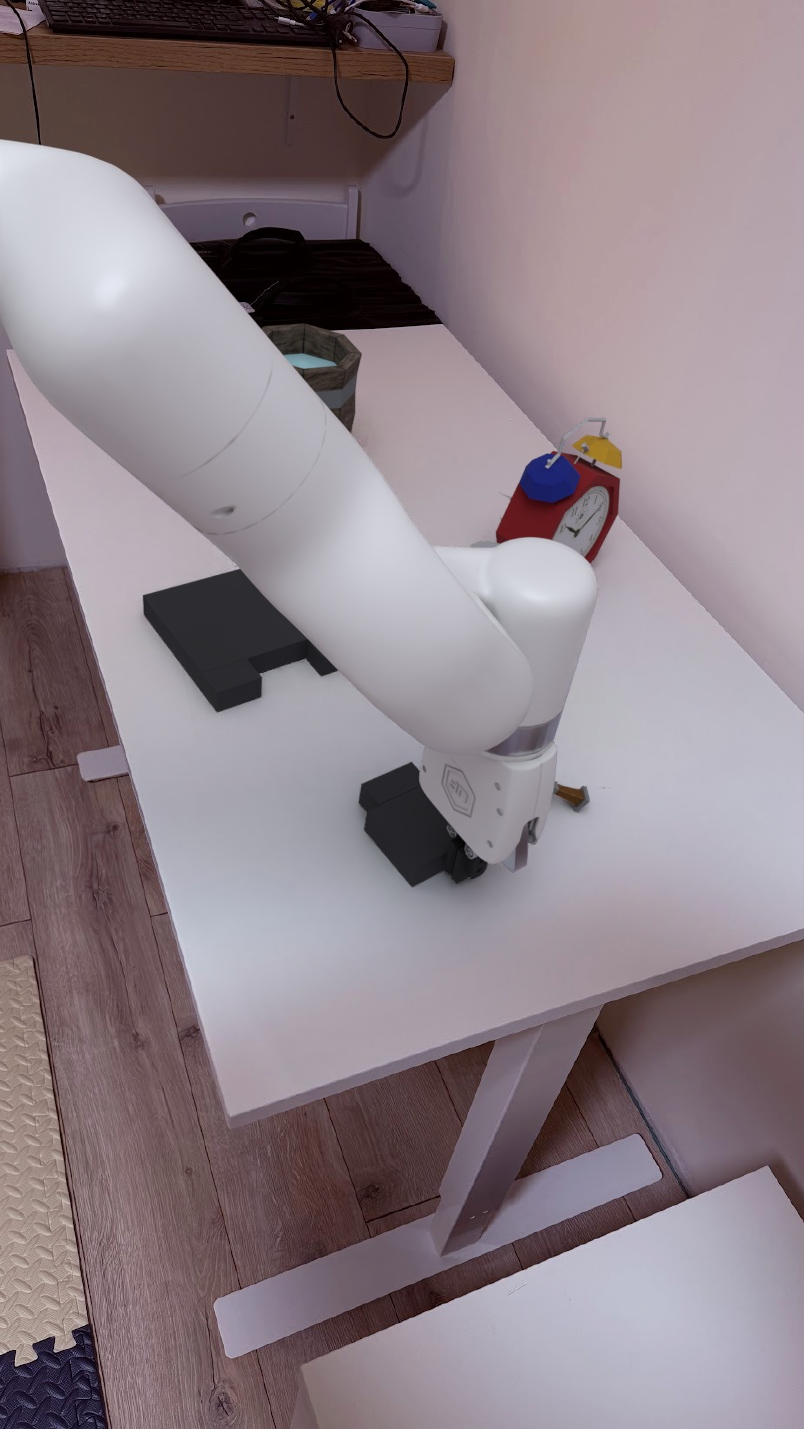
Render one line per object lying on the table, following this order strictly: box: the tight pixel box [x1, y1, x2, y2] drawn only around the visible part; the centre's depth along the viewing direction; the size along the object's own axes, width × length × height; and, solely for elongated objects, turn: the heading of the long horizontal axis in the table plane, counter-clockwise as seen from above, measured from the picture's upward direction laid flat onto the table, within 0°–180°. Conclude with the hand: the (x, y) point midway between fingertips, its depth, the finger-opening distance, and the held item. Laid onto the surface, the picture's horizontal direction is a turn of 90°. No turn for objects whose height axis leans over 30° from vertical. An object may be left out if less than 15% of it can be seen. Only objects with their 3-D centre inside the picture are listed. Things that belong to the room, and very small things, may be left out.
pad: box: [358, 761, 452, 888], centre depth 86 cm, size 8×10×2 cm
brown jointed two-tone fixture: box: [552, 780, 591, 813], centre depth 90 cm, size 2×8×4 cm, turn 94°
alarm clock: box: [495, 417, 623, 564], centre depth 110 cm, size 15×9×20 cm, turn 136°
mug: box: [261, 323, 363, 434], centre depth 120 cm, size 20×14×15 cm
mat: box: [142, 568, 339, 713], centre depth 101 cm, size 16×16×2 cm
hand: (464, 870), depth 82 cm, fingers closed
